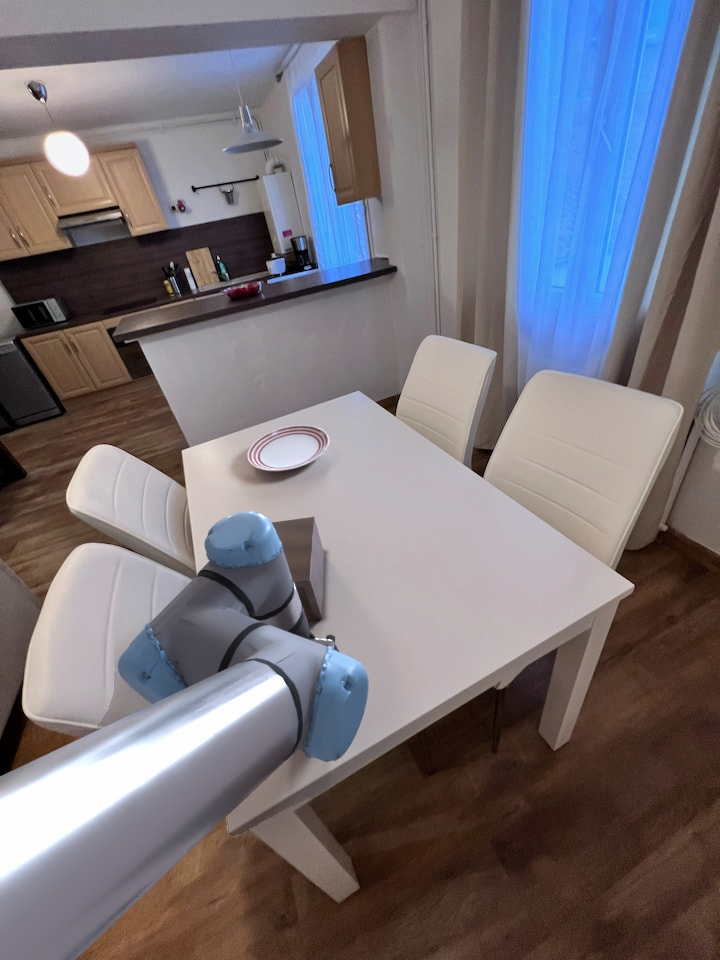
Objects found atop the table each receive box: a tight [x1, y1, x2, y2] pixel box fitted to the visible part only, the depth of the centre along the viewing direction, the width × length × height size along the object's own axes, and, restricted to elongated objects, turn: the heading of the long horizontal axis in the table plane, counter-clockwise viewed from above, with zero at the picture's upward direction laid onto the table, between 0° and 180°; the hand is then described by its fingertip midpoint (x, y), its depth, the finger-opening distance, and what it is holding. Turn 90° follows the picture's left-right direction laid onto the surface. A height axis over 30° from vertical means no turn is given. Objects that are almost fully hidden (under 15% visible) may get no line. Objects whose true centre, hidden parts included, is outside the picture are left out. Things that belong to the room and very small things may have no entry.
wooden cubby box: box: [271, 516, 325, 621], centre depth 84 cm, size 18×16×12 cm
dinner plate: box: [246, 424, 330, 472], centre depth 134 cm, size 28×27×3 cm
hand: (310, 701), depth 65 cm, fingers closed on coffee cup, 8 cm apart
